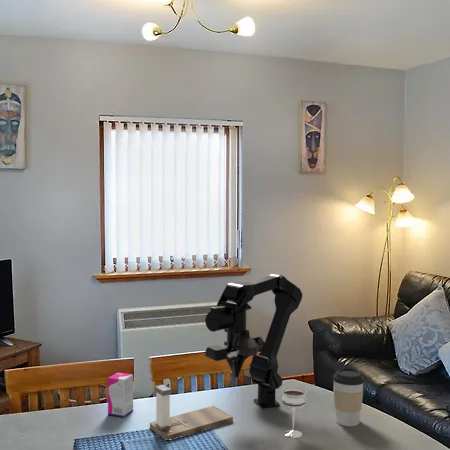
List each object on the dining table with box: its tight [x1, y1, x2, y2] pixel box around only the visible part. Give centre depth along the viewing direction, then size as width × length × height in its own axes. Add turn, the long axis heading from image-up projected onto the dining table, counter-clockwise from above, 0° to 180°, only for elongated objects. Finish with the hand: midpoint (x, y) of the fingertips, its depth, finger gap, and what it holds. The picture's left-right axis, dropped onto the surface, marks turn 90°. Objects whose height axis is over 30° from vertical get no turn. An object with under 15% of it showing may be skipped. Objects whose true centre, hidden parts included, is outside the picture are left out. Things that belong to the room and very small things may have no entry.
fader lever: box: [154, 384, 172, 430], centre depth 150 cm, size 3×4×11 cm
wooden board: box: [149, 405, 234, 440], centre depth 155 cm, size 22×10×2 cm, turn 125°
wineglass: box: [281, 387, 307, 439], centre depth 150 cm, size 7×7×12 cm
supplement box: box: [107, 372, 134, 418], centre depth 163 cm, size 6×6×12 cm
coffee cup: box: [332, 367, 365, 427], centre depth 158 cm, size 9×9×15 cm
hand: (235, 377), depth 161 cm, fingers closed
